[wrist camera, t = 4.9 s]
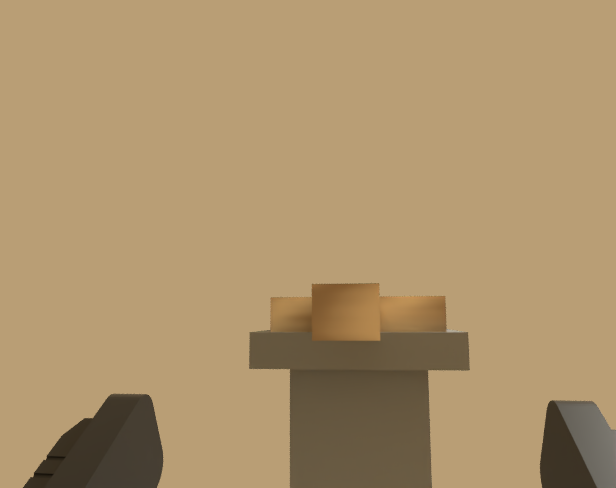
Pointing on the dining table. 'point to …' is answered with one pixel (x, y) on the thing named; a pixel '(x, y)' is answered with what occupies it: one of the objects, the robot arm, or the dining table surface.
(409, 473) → the pedestal
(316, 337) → the wooden t-shaped block
